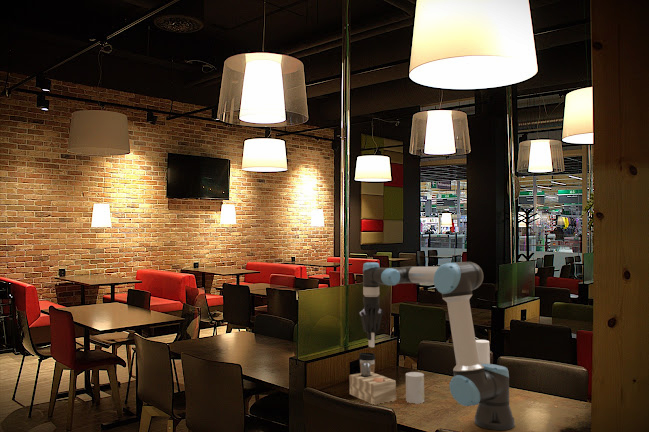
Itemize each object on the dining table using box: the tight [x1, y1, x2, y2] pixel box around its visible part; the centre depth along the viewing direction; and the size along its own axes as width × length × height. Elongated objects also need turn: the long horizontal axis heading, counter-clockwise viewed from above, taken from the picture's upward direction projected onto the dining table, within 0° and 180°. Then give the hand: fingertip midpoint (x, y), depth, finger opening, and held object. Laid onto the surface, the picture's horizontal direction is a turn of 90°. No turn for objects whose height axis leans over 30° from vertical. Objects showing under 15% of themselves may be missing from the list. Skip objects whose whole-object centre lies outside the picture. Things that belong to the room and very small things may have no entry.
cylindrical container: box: [475, 339, 491, 364], centre depth 258 cm, size 7×7×25 cm
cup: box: [405, 371, 425, 405], centre depth 250 cm, size 8×8×12 cm
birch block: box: [348, 372, 397, 406], centre depth 256 cm, size 20×12×9 cm, turn 31°
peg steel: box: [360, 362, 371, 377], centre depth 261 cm, size 4×4×9 cm
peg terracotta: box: [374, 378, 383, 382], centre depth 252 cm, size 4×4×9 cm
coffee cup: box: [358, 352, 376, 373], centre depth 280 cm, size 8×8×15 cm
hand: (371, 346), depth 257 cm, fingers closed
